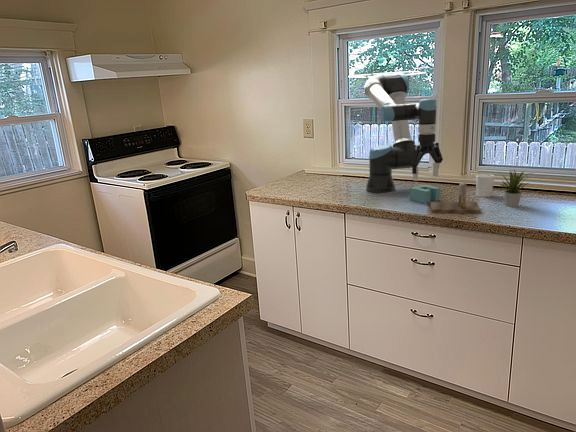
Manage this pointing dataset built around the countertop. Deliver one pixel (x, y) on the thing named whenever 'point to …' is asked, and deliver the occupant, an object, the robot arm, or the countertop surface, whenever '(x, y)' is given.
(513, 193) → the house plant
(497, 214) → the countertop surface
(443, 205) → the baseplate
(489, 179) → the white cup
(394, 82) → the robot arm
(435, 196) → the teal notched block
